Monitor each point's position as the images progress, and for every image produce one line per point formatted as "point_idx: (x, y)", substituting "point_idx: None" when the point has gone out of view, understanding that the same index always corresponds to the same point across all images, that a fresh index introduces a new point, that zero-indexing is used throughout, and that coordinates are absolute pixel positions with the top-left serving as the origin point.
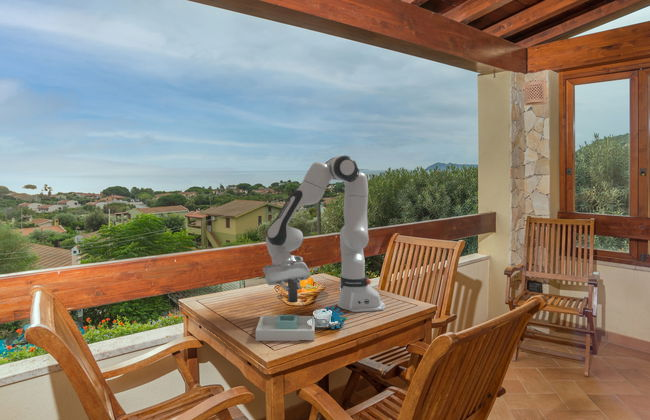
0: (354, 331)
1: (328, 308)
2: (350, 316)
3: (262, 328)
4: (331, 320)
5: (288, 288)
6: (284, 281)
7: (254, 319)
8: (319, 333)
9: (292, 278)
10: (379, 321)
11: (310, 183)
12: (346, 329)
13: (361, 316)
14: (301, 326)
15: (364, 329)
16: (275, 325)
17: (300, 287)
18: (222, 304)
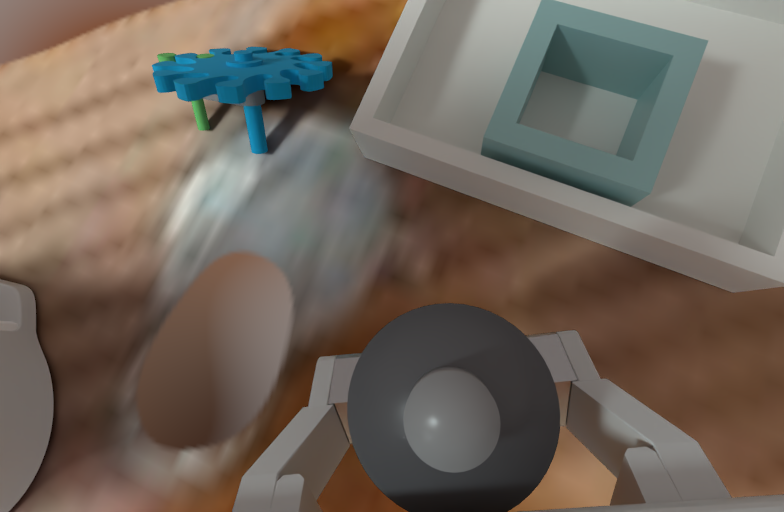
0: (202, 5)
1: (225, 83)
2: (91, 227)
3: (756, 174)
4: (269, 59)
5: (542, 342)
6: (638, 477)
7: (769, 451)
8: (390, 32)
9: (451, 430)
10: (7, 95)
11: None
12: (224, 43)
13: (38, 202)
14: (466, 121)
15: (142, 16)
16: (642, 199)
17: (326, 357)
18: None
